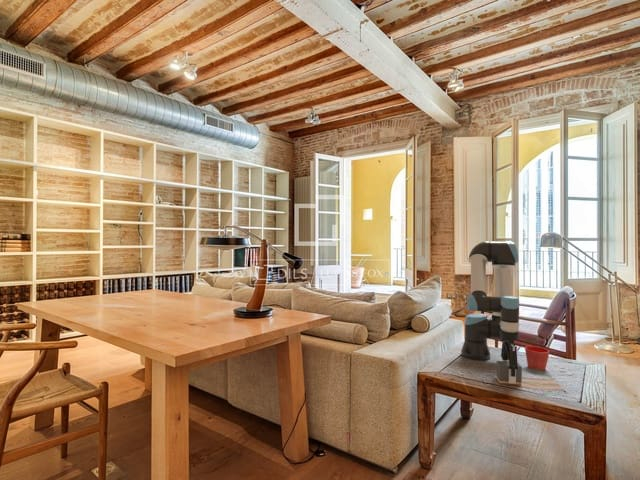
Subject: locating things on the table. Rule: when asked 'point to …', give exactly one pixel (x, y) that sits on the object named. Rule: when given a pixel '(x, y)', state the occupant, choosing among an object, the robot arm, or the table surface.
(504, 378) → the sanding block
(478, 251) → the robot arm
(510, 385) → the plank
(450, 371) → the table surface
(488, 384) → the table surface
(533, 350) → the flower pot
